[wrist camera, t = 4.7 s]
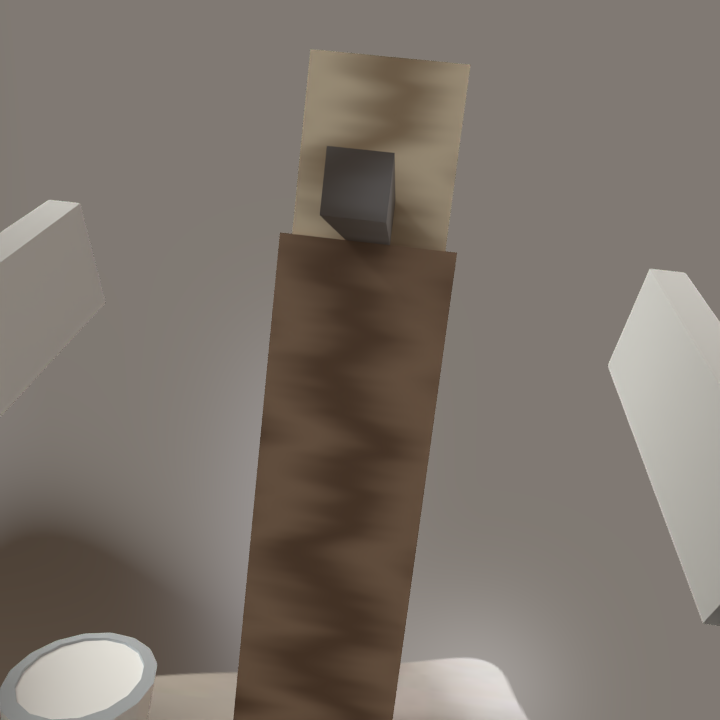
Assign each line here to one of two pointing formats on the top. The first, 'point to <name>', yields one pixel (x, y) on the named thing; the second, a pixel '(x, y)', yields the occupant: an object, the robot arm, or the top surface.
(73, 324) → the robot arm
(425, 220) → the beige wooden block
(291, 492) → the brown wooden tall block
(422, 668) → the top surface
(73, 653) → the white cup
